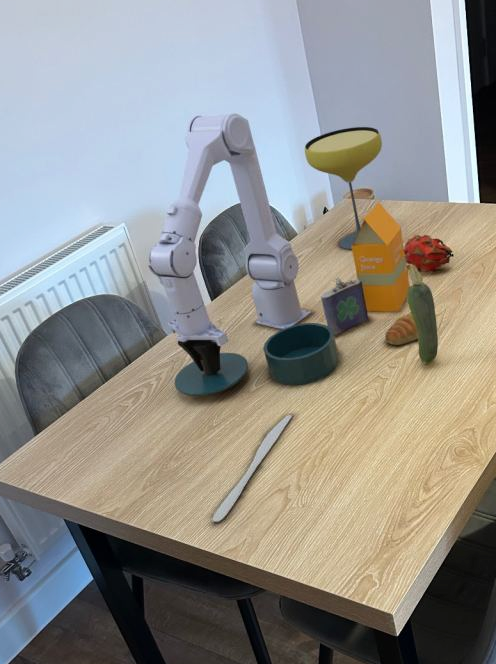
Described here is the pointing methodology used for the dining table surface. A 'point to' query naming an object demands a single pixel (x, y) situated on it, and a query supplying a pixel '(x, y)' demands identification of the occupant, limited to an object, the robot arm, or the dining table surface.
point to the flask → (345, 306)
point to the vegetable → (423, 315)
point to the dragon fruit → (427, 253)
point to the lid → (211, 376)
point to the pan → (301, 353)
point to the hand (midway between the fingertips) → (210, 370)
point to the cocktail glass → (344, 158)
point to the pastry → (402, 331)
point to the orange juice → (381, 261)
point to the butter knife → (250, 469)
